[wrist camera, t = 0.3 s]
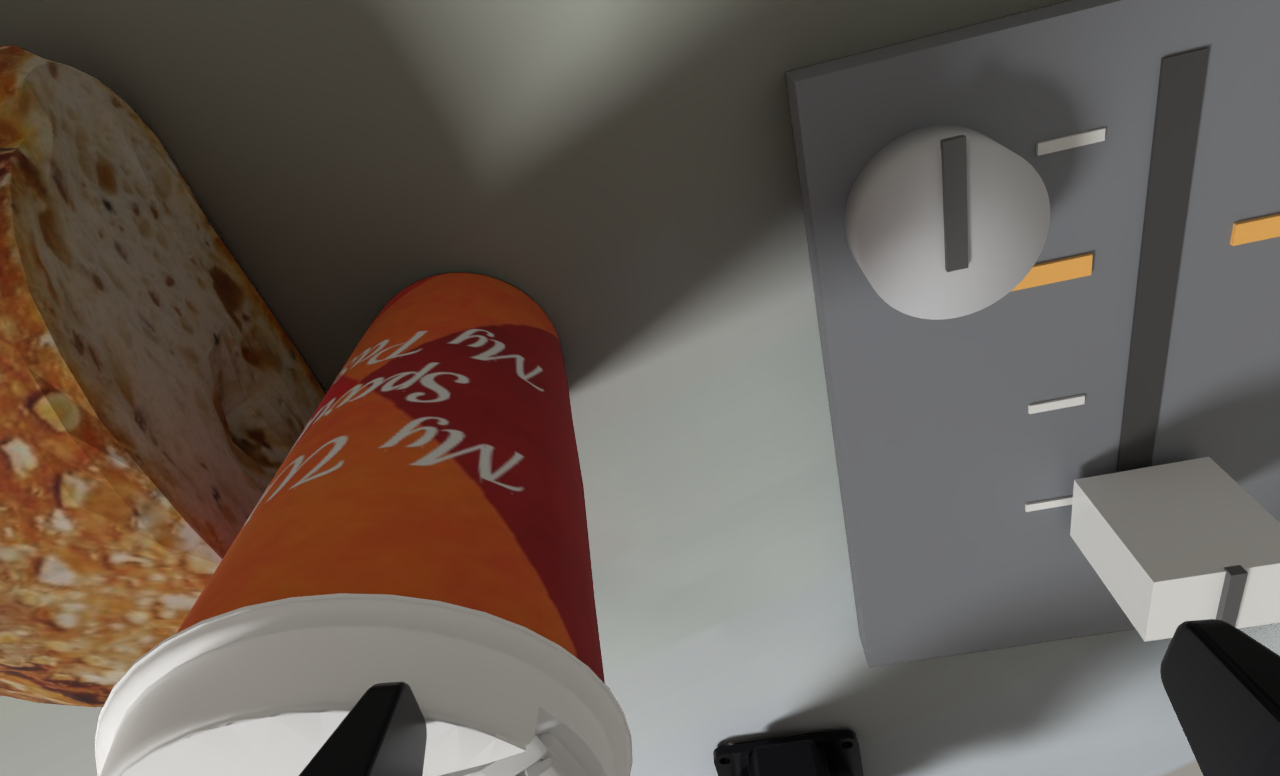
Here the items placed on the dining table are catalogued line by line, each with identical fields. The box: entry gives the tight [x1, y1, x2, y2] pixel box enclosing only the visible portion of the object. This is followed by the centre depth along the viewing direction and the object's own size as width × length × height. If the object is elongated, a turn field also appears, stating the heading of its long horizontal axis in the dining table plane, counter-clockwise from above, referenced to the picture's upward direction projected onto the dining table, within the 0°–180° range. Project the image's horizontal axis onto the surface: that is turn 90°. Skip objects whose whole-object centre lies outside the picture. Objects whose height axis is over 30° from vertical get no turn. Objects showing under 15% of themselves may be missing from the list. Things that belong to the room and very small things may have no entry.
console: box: [785, 0, 1280, 667], centre depth 22 cm, size 22×16×4 cm
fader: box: [1070, 457, 1280, 642], centre depth 22 cm, size 2×4×5 cm, turn 104°
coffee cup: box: [95, 272, 632, 776], centre depth 17 cm, size 8×8×15 cm
